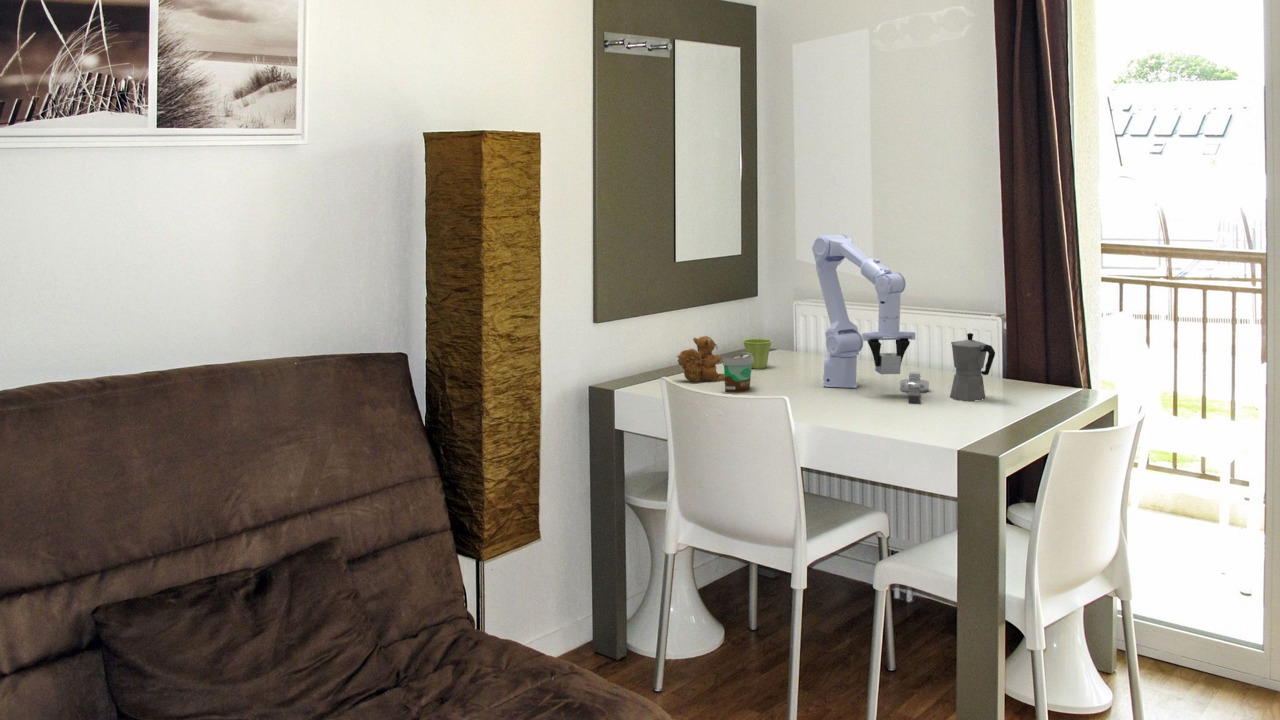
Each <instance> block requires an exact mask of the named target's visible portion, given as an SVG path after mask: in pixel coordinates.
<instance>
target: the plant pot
mask: <svg viewBox="0 0 1280 720" xmlns="http://www.w3.org/2000/svg"><path fill="white" fill-rule="evenodd" d="M742 343H743V347H744V349H745V352H746V353H750V354H752V356H753V359H754V363H752V367H751V369H756V370H757V369H765V368H768V360H769V355H770V348H771V344H772V343H773V340H771V339H767V338H747V339H742Z"/></svg>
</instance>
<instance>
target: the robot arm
mask: <svg viewBox="0 0 1280 720" xmlns="http://www.w3.org/2000/svg"><path fill="white" fill-rule="evenodd" d="M853 240H854V239H852V238H850V237H849V236H848V235H847V234H844V233H843V234H840V235H839V234H838V235H818V236H817V237H816V238H815V240H814V243H813V245H812V247H811V249H812V253H813V256H814V262H815V268H816V269H815V270H816V273H817V277H818V278H817V279H818V280H819V285H820V289H821V293H822V297H823V301H824V304H825V307H826V312H827V316H828V319H829V324H830V325H829V326H828V328H827V329H826V331H825V332H824V333H825V334H824V335H825V338H826V339H825V340H826V341H825V348H826V350H827V352H828V353H829V354H828V355H824V362H823V363H824V364H823V375H822V377H823V378H822V379H823V387H824V386H825V387H824V388H847V389H849V388H850V389H851V388H853V389H857V388H858V387H859V386H858V385H859V381H857V374H858V373H857V369H858V368H857V367H858V366H857V365H858V356H859V355H860V352H861V351H862V350H863V347H864V342H867V343H868V346H869V349H870V350H871V354H872V356H873V361H874V366H877V367H879V365H880V353H881V348H882V343H881V342H880V341H889V340H890V341H892V340H895V347H896V348H895V349H896V351H895V353H896V354H898V355H900V356H901V363H902V362H903V359H904V355H905V353H906V351H907V349H908V347H910V343H911V341H912V340H913V341H914V340H916V332H914V331H900V324H901V323H900V321H901V317H900V316H901V296H902V293H903V292H904V291H905V289H906V285H907V284H906V279H905V277H904V276H903V274H902V273H901V272H897V271H896V272H893V271H892V270H891V269H890V268H889V267H886V266H885V265H884V264H882V263H881V260H880V259H879V258H874V257H873V258H871V257H868V256H867V255H866V254H865V253H864V252H862V251H861V250H860V248H858V247H857V246H856V245H855V244H854V241H853ZM845 259H847V260H848V261H850V262H851V263H853V264H854V265H856V267H858V268H860V274H861V275H862V276H863V277H864V278H866V280H868V281H869V282H870V283H871V284H872V285H874V289H875V291H876V294H877V301H878V320H877V321H878V325H877V326H878V327H877V331H873V332H862V333H860V332H859V329H858V326H857V325H856V324H855V323H854V322H852V321H850V317H849V314H848V311H847V307H846V303H845V299H844V296H843V292H842V291H843V290H842V288H841V283H840V280H839V277H838V272H837V268H838V266H840V264H841V263H842V262H843V261H844V260H845ZM910 340H911V341H910Z"/></svg>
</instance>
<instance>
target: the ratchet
mask: <svg viewBox="0 0 1280 720" xmlns="http://www.w3.org/2000/svg"><path fill="white" fill-rule="evenodd" d="M908 375H909V376H908V378H904V379H900V380H899V391H900V392H904V393H908V401H907V402H908V404H917V405H918V404H919V405H920V394H922V393H923V394H924V393H928V392H929V391H930V389H929V387H930V381H928V380H926V379H922V378H921V372H920V371H909V373H908Z"/></svg>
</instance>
